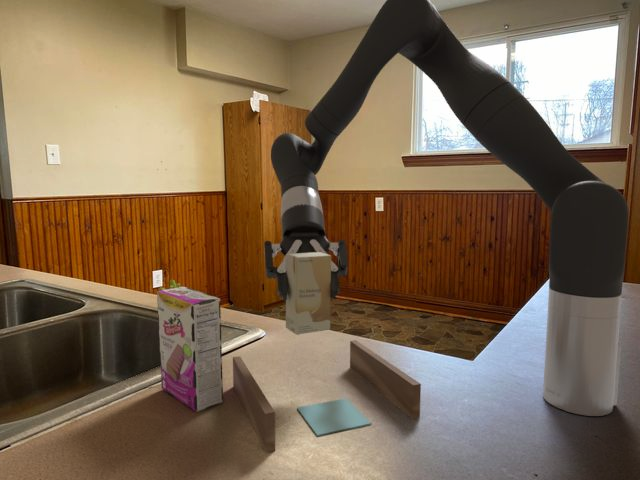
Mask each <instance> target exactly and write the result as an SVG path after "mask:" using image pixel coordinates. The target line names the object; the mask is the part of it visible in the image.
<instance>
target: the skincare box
mask: <svg viewBox="0 0 640 480" xmlns="http://www.w3.org/2000/svg"><path fill="white" fill-rule="evenodd" d="M331 260H332V255H331V254H328V253H327V254H325V253H321V252H312V253H294V254H286V281H287V300H285V328H286V329H287V330H289V331H290V332H292V333H293V334H295V335H297V336H298V335H302V334H303V335H305V334H311V333H317V332H324V331H325V332H326V331H329V330H331V305H332V304H331V302H332V301H331Z"/></svg>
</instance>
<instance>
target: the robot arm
mask: <svg viewBox="0 0 640 480" xmlns="http://www.w3.org/2000/svg"><path fill="white" fill-rule="evenodd" d="M397 54H399V55H401V56H402V57H404V58H406V59H407V60H408V61H410V63H412V64H413V65H414V66H416V67H417V68H418V69H419V70H420V71H422V73H423V74H425V75H426V76H427V77H428V78H429V79H430V80H431V81H432V82H433V83H434V85H436V87H437V89H438V90H439V91H440V93H441V95H442V96H443V98H444V100H445V102H446V104H447V105H448V106H449V108H450V110H451V111H452V112H453V114H454V116H456V118H457V119H458V121H459V122H460V123H461V124H462V125H463V127H464V128H465V129H466V130H467V131H468V133H470V135H472V136H473V138H474V139H475V140H476V141H477V142H478V143H479V144H480V145H481V146H482V147H483V148H484V149H485V150H487V152H489V153H490V154H491V155H493V156H494V157H495V158H496V159H497V160H498V161H500V163H502V164H503V165H504V166H506V168H508V169H510V170H511V171H513V172H514V173H515V174H516V175H518V176H519V177H520V178H522V179H523V181H525V183H526V184H528V186H530V187H531V188H532V190H533V191H534V192H535V193H536V195H537V196H538V197H539V198H540V199H541V201H542V203H544V205H545V206H546V208H547V209H548V210H549V212H550V213H551V216H550V227H549V229H550V230H549V252H548V256H549V257H548V274H549V275H548V276H549V277H548V278H549V282H548V284H549V285H548V299H547V319H546V322H547V323H546V338H545V355H544V369H543V388H542V396H543V398H544V400H545V402H547V403H549V404H550V405H552V406H554V407H555V408H557V409H560V410H563V411H564V412H568V413H572V414H575V415H581V416H587V417H599V416H600V417H602V416H605V415H606V416H607V415H609V414H611V413H612V412H613V410H614V406H617V402H618V401H617V400H618V389H619V388H618V387H619V379H620V378H619V377H620V363H621V362H620V361H621V352H622V351H621V349H622V345H621V343H620V341H619V333H620V331H619V330H620V320H621V308H622V304H621V303H622V292H623V291H622V290H623V282H624V276H625V268H626V267H625V265H626V254H627V245H628V243H627V242H628V230H629V214H630V213H629V206H628V202H627V201H626V200H627V199H626V198H625V197H624V195H623V194H622V193H621V191H619V190H618V189H617V188H615V187H614V186H613V185H611V184H608V183H606V182H605V181H603V180H602V179H601V178H599V177H598V176H597V175H595V174H594V173H593V172H592V171H591V170H590V169H588V167H586V166H585V165H584V164H583V163H581V162H580V161H579V160H578V159H577V158H576V157H574V155H572V154H571V153H570V151H569V150H568V149H567V148H566V147H565V146H564V145H563V144H562V143H561V141H560V140H559V138H558V137H557V136H556V133H554V131H553V130H552V128H551V127H550V126H549V125H548V123H547V122H546V121H545V119H544V118H543V117H542V115H541V114H540V113H539V112H538V110H537V109H536V107H535V106H533V105H532V103H530V101H529V100H528V98H527V97H525V95H523V93H521V91H519V90H518V88H516V86H515V85H514V84H512V83H511V82H510V81H509V80H508V79H507V78H506V77H505V76H504V75H503V74H501V73H500V72H499V71H498V70H496V69H495V68H494V67H493V66H491V65H490V64H488V62H487V63H486V62H485V61H484V60H483V59H481V58H479V57H478V56H476V55H475V54H473V53H472V52H471V51H469V49H468V48H467V47H465V46H464V44H463V43H462V42H461V41H460V40H459V38H458V37H457V36H456V35H455V33H454V32H453V30H451V28H450V27H449V26H448V24H447V22H446V21H445V20H444V18H443V17H442V15H441V13H440V12H439V10H438V9H437V8H436V6H435V5H434V4H433V2H432V1H430V0H385V2H384V3H383V4H382V6H381V8H380V9H379V11H378V12H377V14H376V15H375V17H374V18H373V20H372V22H371V24H370V26H369V27H368V29H367V30H366V32H365V35H363V38H362V39H361V41H360V42H359V44H358V45H357V46H356V49H355V50H354V52H353V54H352V55H351V57H350V58H349V60H348V62H347V64H346V65H345V66H344V68H343V69H342V71H341V72H340V74H339V75H338V76H337V78H336V80H335V81H334V82H333V83H332V85H331V86H330V87H329V89H328V90H327V91H326V92H325V94H324V95H323V96H322V97H321V99H320V100H319V101H318V102H317V103H316V105H315V106H314V107H313V109H312V110H311V111H310V112H309V113H308V114H307V116H306V118H305V120H304V125H305V129H306V130H307V131H308V132H309V134H310V135H311V136H312V137H313V138H314V141H313V142H312V143H309V142H308V141H306V140H304V139H303V138H301V137H300V136H298V135H296V134H295V133H291V132H284V133H282V134H280V135H278V136H277V137H276V138H275V140H274V141H273V143H272V145H271V149H270V161H271V166H272V168H273V171H274V173H275V176H276V178H277V181H278V183H279V186H280V193H281V195H280V196H281V204H280V220H281V239H282V240H281V241H280V243H272V241H270V240H266V241H264V243H263V245H264V247H263V248H264V249H263V250H264V251H263V252H264V253H263V254H264V264H265V268H264V269H265V278H267V279H272V278H273V279H275V280H276V281H277V283H276V284H277V296H278V297H280V298H282V301H286V300H287V281H286V254H294V253H312V252H321V253H325V254H328V253H329V251H332V252H333V255H334V256H336V257H337V263H338V265H336V264H335V263H334V262H333V261H332V259H331V299H336V297H337V296H338V295H339V293H340V289H341V287H340V286H341V285H340V281H339V277H346V276H347V273H348V268H349V259H348V252H347V251H348V250H347V242H346V240H345V239H342V238H341V239H339V240H338V242H330V241H329V240H328V238H327V235H326V228H325V226H326V225H325V219H324V212H323V206H322V201H321V198H320V192H319V191H320V190H319V184H318V183H319V182H318V180H317V177H316V175H317V174H318V173H319V172H320V170H321V169H322V167H323V165H324V162H325V160H326V158H327V156H328V154H329V152H330V150H331V148H332V146H333V145H334V143H335V141H336V139H337V138H338V137H339V136H340V135H341V134H342V132H344V131H345V129H346V128H347V127H348V126H349V124H350V123H351V122H353V120H354V119H355V118H356V116H357V115H358V113H359V112H360V110H361V108H362V106H363V104H364V103H365V100H366V98H367V96H368V94H369V91H370V90H371V88H372V85H373V84H374V82H375V80H376V78H377V77H378V76H379V74H380V73H381V71H382V70H383V69H384V68H385V66H386V65H387V64H388V63H389V62H390V61H391V60H392V59H393V58H394V57H396V56H397ZM279 252H280V253H281V254H282V255H283V256H284V257H283V260H282V261H281V263H280V265H279V266H278V267H277V266H274V259H273V258H276V256H277V255H278V254H277V253H279Z"/></svg>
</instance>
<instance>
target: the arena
mask: <svg viewBox="0 0 640 480" xmlns="http://www.w3.org/2000/svg"><path fill="white" fill-rule="evenodd" d="M349 342H350V343H349V359H350V360H349V368H350V369H351V370H353V372H355V373H356V374H357V375H359V376H360V377H361V378H362V379H363V380H364V381H365V382H367V384H369V385H370V386H371V387H373V388H374V389H375V390H377V392H379V393H380V394H381V395H382V396H384V397H385V398H386V399H387V400H388V401H389V402H391V403H392V404H393V405H395V407H397V408H398V409H399V410H400V411H402V412H403V413H405V414H406V415H407V416H408V417H409V418H410V419H411V420H417V419H420V418H421V389H422V387H421V386H422V384H421V383H420V382H419V381H417V380H416V379H415V378H413V377H411V375H409V374H407V373H406V372H404V371H403V370H401V369H400V368H398V367H397V366H395V365H394V364H392V363H391V362H389V361H388V360H386V359H385V358H383V357H382V356H381V355H379V354H378V353H376V352H374V351H373V350H371V349H370V348H369V347H367V346H365V345H364V344H363V343H361V342H360V341H359V340H357V339H353V340H350V341H349ZM232 378H233V379H232V381H233V382H232V387H233V389H234V391H235V393H236V395H237V397H238V399H239V401H240V403H241V405H242V407H243V408H244V411H245V413H246V415H247V417H248V420H249V421H250V423H251V426H252V427H253V429H254V431H255V433H256V436H257V438H258V439H259V441H260V444H261V445H262V447H263V451H264V452H265V453H271V452H273V451H274V452H275V451H276V411H275V410H274V408H273V406H272V405H271V403H270V401H269V400H268V398H267V397H266V395H265V394H264V392H263V391H262V389H261V387H260V386H259V384H258V382H257V381H256V379H255V377H254V376H253V375H252V373H251V371H250V369H249V368H248V367H247V365H246V363H245V361H243V359H242V356H241V355H240V356H239V355H237V356H232ZM296 409H297V410H298V412H299V413H300V415H301V417H302V418H303V419H304V421H305V422H306V423H307V424H308V426H309V427H310V428H311V430H312V432H314V434H315V435H316V436H317V437H321V436H325V435H330V434H333V433H338V432H342V431H343V432H344V431H347V430H352V429H357V428H361V427H362V428H363V427H366V426H371V425H372V422H371V420H369V418H367V417H366V416H365V414H363V413H362V412H361V411H360V410H359V409H358V408H357V407H356V406H355V405H354V404H353V403H352V402H351V401H350V400H349V399H348V398H347V397H345V398H340V399H335V400H330V401H329V400H328V401H324V402H321V403H320V402H319V403H313V404H309V405H304V406H299V407H296Z"/></svg>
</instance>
